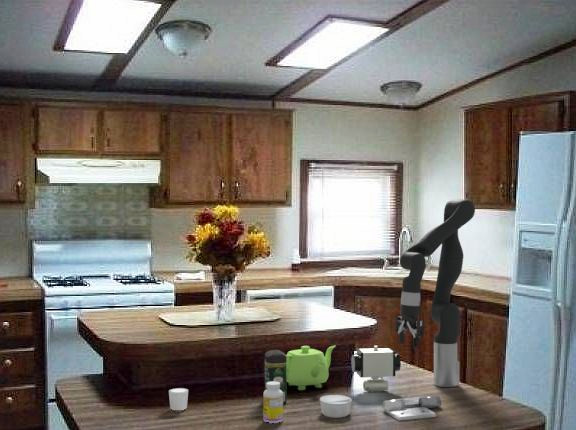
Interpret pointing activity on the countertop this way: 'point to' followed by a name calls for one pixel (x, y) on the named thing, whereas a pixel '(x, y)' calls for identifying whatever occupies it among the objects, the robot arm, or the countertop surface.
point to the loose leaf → (405, 410)
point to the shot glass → (178, 398)
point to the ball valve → (376, 367)
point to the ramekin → (335, 405)
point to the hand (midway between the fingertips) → (408, 345)
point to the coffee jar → (276, 370)
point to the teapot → (308, 367)
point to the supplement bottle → (273, 403)
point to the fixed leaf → (422, 402)
